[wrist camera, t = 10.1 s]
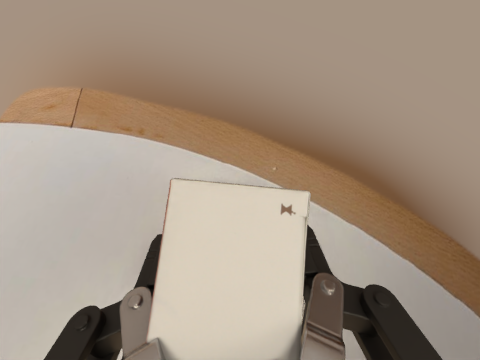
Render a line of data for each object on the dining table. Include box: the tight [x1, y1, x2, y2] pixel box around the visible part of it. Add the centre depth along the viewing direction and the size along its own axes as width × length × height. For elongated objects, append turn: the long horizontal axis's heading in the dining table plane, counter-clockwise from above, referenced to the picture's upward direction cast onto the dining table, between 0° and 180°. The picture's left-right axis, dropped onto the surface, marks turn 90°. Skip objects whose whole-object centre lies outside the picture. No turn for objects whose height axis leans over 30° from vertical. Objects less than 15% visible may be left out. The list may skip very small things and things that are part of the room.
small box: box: [146, 178, 311, 360], centre depth 12 cm, size 8×6×10 cm
